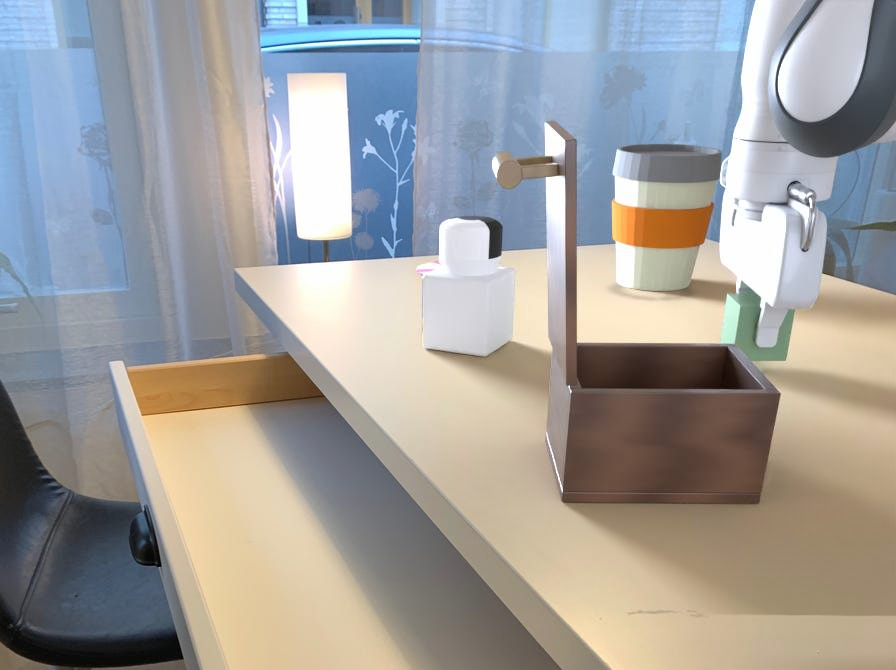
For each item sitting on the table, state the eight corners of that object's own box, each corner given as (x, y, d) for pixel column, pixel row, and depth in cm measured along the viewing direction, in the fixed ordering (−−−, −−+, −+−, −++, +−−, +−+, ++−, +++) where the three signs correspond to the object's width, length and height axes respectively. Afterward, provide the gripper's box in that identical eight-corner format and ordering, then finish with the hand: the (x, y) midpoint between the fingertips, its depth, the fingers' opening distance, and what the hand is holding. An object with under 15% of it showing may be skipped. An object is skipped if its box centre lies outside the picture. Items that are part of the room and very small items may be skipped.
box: (718, 443, 80) (735, 343, 76) (759, 504, 70) (781, 393, 66) (545, 441, 80) (552, 342, 76) (561, 502, 70) (571, 391, 66)
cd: (472, 257, 138) (472, 257, 138) (519, 273, 130) (519, 272, 130) (400, 266, 134) (400, 265, 133) (444, 283, 125) (444, 282, 125)
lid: (555, 120, 68) (488, 126, 68) (576, 139, 58) (498, 146, 58) (557, 336, 76) (497, 341, 76) (577, 385, 66) (507, 390, 66)
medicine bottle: (450, 331, 107) (452, 209, 101) (513, 340, 104) (520, 215, 98) (420, 348, 102) (421, 220, 95) (486, 358, 99) (491, 227, 93)
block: (771, 346, 98) (780, 293, 96) (786, 361, 94) (796, 305, 91) (719, 346, 98) (727, 293, 96) (731, 361, 94) (740, 306, 92)
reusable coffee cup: (684, 299, 119) (704, 159, 111) (585, 286, 125) (598, 151, 117) (718, 279, 128) (738, 148, 120) (624, 267, 134) (638, 141, 126)
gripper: (859, 192, 79) (823, 368, 86) (783, 160, 97) (759, 309, 104) (777, 193, 79) (749, 368, 87) (717, 161, 97) (697, 309, 104)
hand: (754, 335), depth 95 cm, fingers closed on block, 5 cm apart
